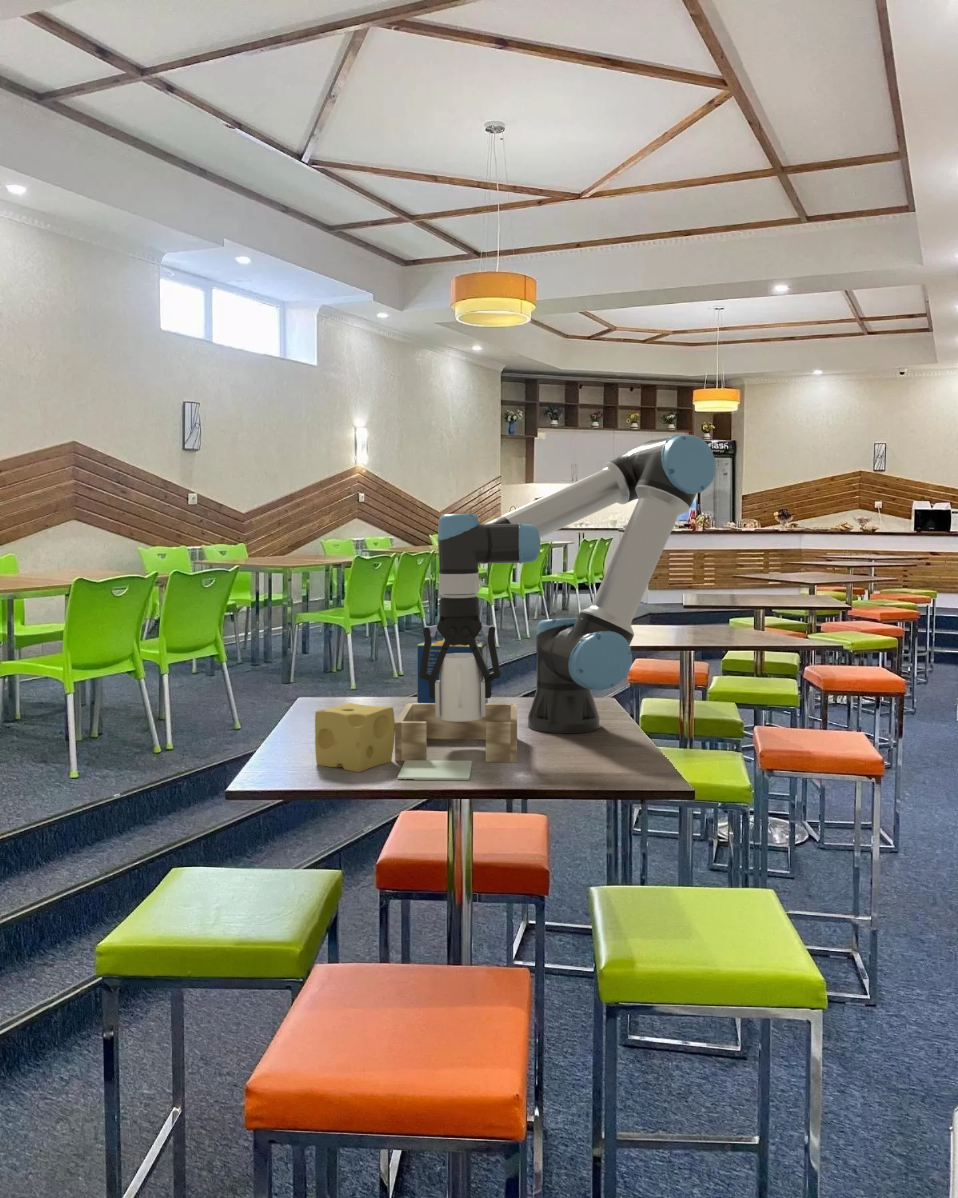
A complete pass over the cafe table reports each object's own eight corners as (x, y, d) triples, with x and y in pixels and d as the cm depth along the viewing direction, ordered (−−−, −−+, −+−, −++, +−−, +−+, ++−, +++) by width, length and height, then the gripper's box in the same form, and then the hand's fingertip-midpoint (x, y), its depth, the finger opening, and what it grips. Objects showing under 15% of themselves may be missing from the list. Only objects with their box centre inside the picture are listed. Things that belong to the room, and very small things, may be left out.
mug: (478, 725, 175) (477, 660, 174) (432, 725, 176) (431, 660, 175) (485, 713, 187) (484, 652, 186) (442, 713, 188) (441, 652, 187)
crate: (516, 738, 191) (516, 703, 191) (517, 762, 171) (517, 723, 171) (407, 737, 192) (407, 703, 192) (395, 761, 172) (394, 722, 172)
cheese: (359, 773, 164) (358, 715, 163) (311, 765, 169) (311, 709, 169) (396, 761, 172) (395, 706, 172) (349, 754, 178) (349, 701, 177)
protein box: (424, 703, 231) (424, 639, 230) (488, 705, 229) (488, 640, 228) (416, 711, 221) (415, 644, 220) (482, 713, 219) (482, 645, 217)
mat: (472, 763, 171) (472, 760, 171) (469, 780, 159) (469, 777, 159) (405, 762, 171) (405, 760, 171) (397, 779, 159) (397, 777, 159)
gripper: (514, 594, 183) (515, 711, 185) (406, 595, 184) (408, 711, 186) (514, 596, 176) (515, 719, 177) (401, 597, 176) (404, 719, 178)
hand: (460, 715), depth 181 cm, fingers closed on mug, 8 cm apart
